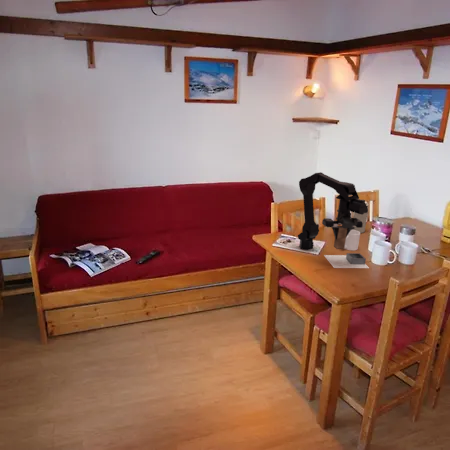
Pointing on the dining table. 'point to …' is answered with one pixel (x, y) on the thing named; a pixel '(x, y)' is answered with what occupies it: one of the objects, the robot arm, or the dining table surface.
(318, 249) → the dining table surface
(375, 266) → the dining table surface
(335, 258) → the board
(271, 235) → the dining table surface
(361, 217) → the travel mug
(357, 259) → the block
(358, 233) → the mug
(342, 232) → the post
